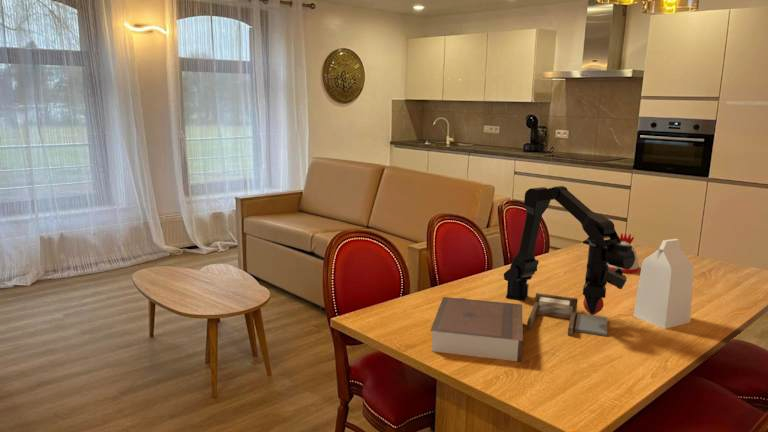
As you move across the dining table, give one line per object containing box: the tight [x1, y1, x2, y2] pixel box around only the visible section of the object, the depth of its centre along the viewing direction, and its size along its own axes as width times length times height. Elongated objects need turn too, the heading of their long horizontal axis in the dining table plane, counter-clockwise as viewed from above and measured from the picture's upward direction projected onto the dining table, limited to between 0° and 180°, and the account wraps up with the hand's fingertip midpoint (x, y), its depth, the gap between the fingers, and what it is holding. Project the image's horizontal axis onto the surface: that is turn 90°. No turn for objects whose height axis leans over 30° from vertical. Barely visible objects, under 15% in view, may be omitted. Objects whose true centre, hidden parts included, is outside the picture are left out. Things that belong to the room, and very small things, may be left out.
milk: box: [632, 238, 694, 330], centre depth 181 cm, size 12×12×26 cm
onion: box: [582, 297, 604, 316], centre depth 176 cm, size 6×6×8 cm
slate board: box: [574, 313, 609, 337], centre depth 178 cm, size 9×14×1 cm, turn 158°
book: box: [430, 296, 524, 363], centre depth 168 cm, size 24×28×6 cm
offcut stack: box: [537, 297, 573, 320], centre depth 186 cm, size 11×4×4 cm, turn 68°
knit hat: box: [607, 232, 640, 274], centre depth 238 cm, size 14×14×15 cm
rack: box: [526, 292, 579, 337], centre depth 180 cm, size 13×20×5 cm, turn 158°
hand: (592, 309), depth 177 cm, fingers closed on onion, 6 cm apart
